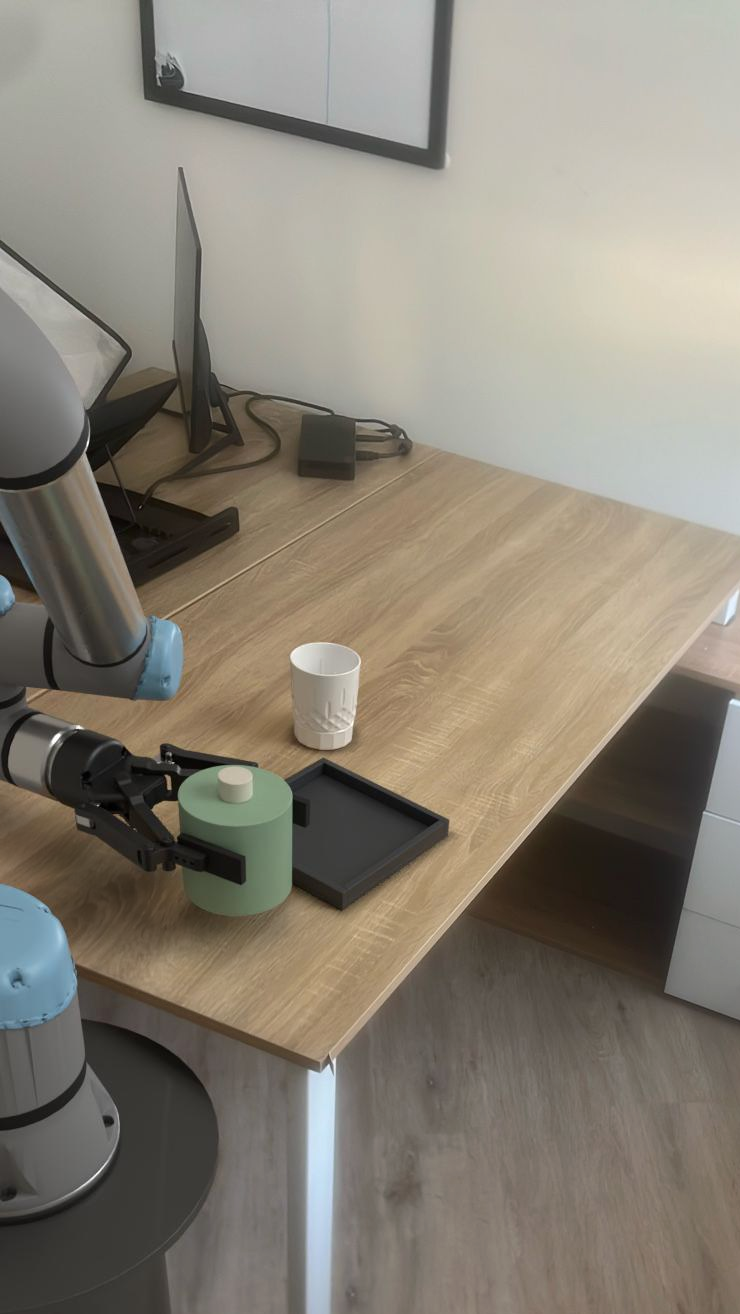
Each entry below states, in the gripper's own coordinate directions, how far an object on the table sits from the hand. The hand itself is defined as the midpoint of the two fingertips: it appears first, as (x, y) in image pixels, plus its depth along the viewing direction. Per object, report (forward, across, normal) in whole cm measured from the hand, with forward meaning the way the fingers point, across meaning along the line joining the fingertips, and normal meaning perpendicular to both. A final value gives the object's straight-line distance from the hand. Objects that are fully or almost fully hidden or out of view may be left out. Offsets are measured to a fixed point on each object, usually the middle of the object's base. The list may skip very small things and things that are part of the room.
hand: (276, 841), depth 115 cm
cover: (-4, 0, -6) cm, 8 cm away
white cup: (-15, -33, -10) cm, 38 cm away
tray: (-3, -16, -10) cm, 20 cm away
